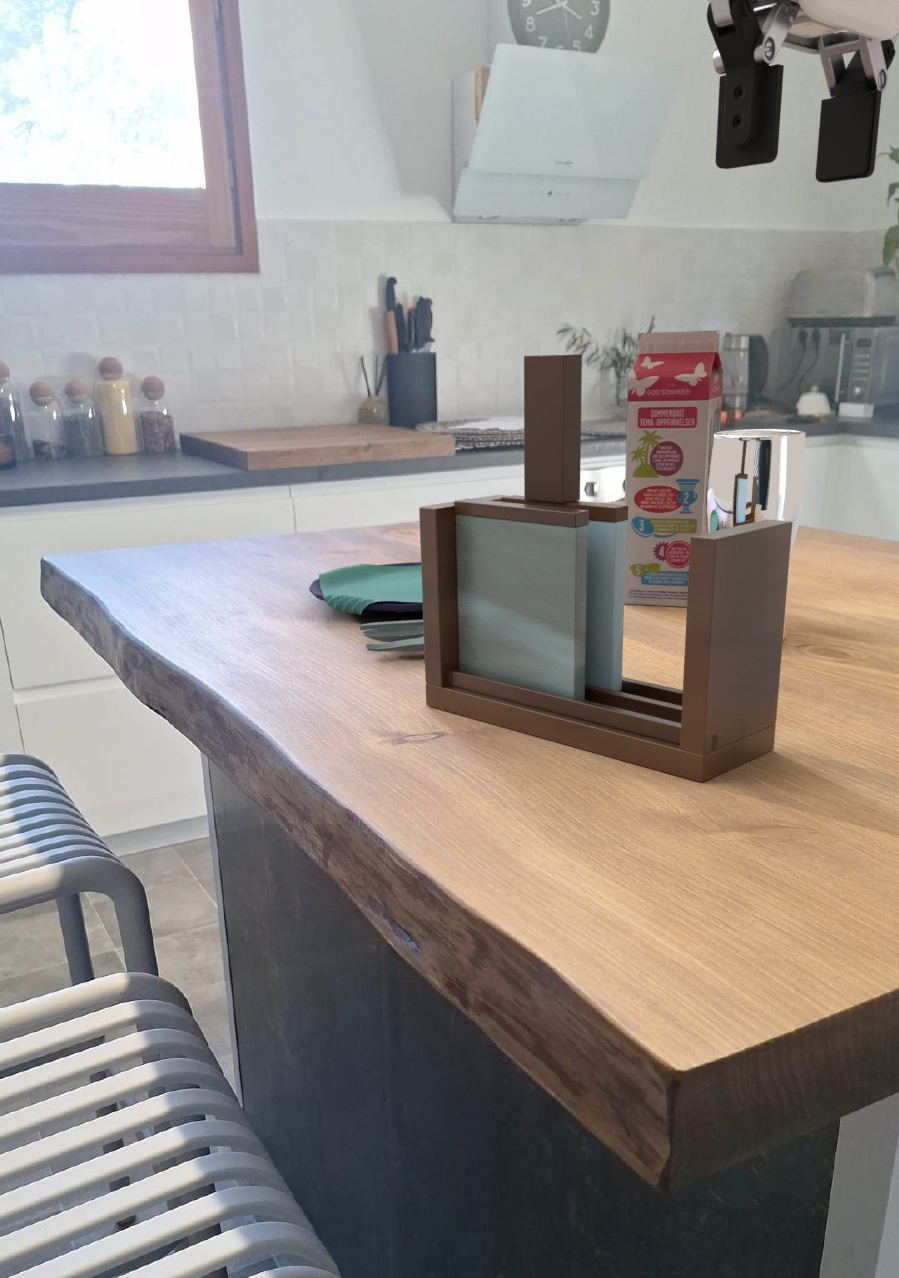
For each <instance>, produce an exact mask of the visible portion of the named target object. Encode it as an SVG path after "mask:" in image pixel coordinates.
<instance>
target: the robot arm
mask: <svg viewBox="0 0 899 1278" xmlns="http://www.w3.org/2000/svg"><path fill="white" fill-rule="evenodd" d="M707 2H709V3H708V6H707V9H706V21H707V24H708V27H709V30H710V33H711V35H712V38H713V41H714V44H715V45H716V47H715V49H714V51H713V57H712V58H713V59H712V62H713V69H714V70H715V72H716V73H717V74H718V75H719V83H718V86H719V87H718V101H717V102H718V103H717V123H716V140H715V141H716V142H715V159H714V161H715V166H716V167H717V168H719V169H723V170H731V169H736V168H742V167H743V168H744V167H750V166H758V165H763V164H770V163H773V162H775V160H776V159H777V157H778V153H779V142H780V141H779V140H780V126H781V114H782V113H781V112H782V98H783V83H784V71H785V70H784V69H785V65H784V64H780V63H776V64H774V62H775V60H776V59H777V56H778V54H779V52H780V50H781V48H786V49H789V50H794V51H796V52H801V53H805V54H808V55H819V58H820V61H821V65H822V70H823V73H824V77H825V82H826V85H827V89H828V92H829V98H825V99H821V102H820V112H819V113H820V114H819V128H818V138H817V139H818V140H817V151H816V164H815V180H816V181H817V182H818V183H823V184H828V183H834V182H845V181H851V180H858V179H859V180H860V179H867V178H870V177H872V175H873V173H874V171H875V169H876V168H875V167H876V158H877V147H878V146H877V145H878V137H879V126H880V115H881V105H882V97H883V96H882V95H883V93H884V92H885V91H886V89H887V86H888V81H889V76H888V75H889V74H888V71H889V69H890V67H891V66H892V63H893V61H894V58H895V56H896V49H895V44H896V41H897V40H898V39H897V38H898V35H899V0H707ZM849 53H854V54H853V55H852V57H851V59H850V61H849V62H848V64H847V66H846V63H845V60H844V56H843V55H845V54H849Z"/></svg>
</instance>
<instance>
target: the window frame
mask: <svg viewBox="0 0 899 1278" xmlns="http://www.w3.org/2000/svg"><path fill="white" fill-rule="evenodd" d="M505 496H508V495H506V494H494V495H486V496H480V497H475V498H462V499H455V500H454V501H448V502H442V503H434V504H427V505H421V506H419V507H418V508H419V509H418V512H419V514H418V516H419V541H420V543H419V544H420V562H421V572H422V599H423V611H422V620H423V626H424V650H423V651H424V677H425V678H424V679H425V705H426V706H428V707H431V708H435V709H438V710H442V711H446V712H448V713H453V714H456V715H460V716H463V717H467V718H470V719H472V720H473V719H474V720H478V721H481V722H484V723H488V724H491V725H496V726H499V727H502V728H507V729H510V730H514V731H516V732H520V733H523V734H527V735H531V736H534V737H537V738H541V739H544V740H549V741H553V742H556V743H559V744H563V745H567V746H570V747H573V748H577V749H581V750H584V751H587V752H592V753H594V754H599V755H603V756H606V757H610V758H612V759H617V760H620V761H624V762H627V763H631V764H635V765H638V766H641V767H645V768H649V769H652V770H655V771H658V772H663V773H665V774H670V775H674V776H677V777H681V778H684V779H687V780H692V781H695V782H698V783H704V782H706V781H709V780H711V779H713V778H715V777H717V776H719V775H722V774H724V773H726V772H728V771H730V770H732V769H734V768H737V767H739V766H741V765H744V764H745V763H747V762H750V761H752V760H754V759H756V758H758V757H761V756H763V755H765V754H767V753H769V752H771V751H773V750H774V749H775V738H776V728H777V727H776V726H777V725H776V724H777V714H778V705H779V704H778V703H779V692H780V691H779V690H780V679H781V678H780V677H781V667H782V666H781V665H782V654H783V641H784V639H783V631H784V620H785V616H786V605H787V593H788V583H789V570H790V569H789V568H790V561H789V558H790V546H791V533H792V522H791V521H780V520H769V519H767V520H762V521H758V522H753V523H749V524H744V525H740V526H735V527H731V528H726V529H722V530H717V531H713V532H708V533H704V534H699V535H694V536H691V537H690V557H689V577H688V597H687V607H686V621H685V639H684V658H683V659H684V661H683V681H682V689H679V688H675V687H671V686H666V685H661V684H657V683H653V682H647V681H642V680H638V679H634V678H630V677H625V676H622V689H621V690H620V691H614V690H610V689H606V688H601V687H597V686H593V685H588V684H585V644H586V585H587V525H588V524H589V511H588V510H579V509H569V508H559V507H548V506H538V505H528V504H518V503H507V502H501V497H505ZM790 559H791V558H790Z"/></svg>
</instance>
